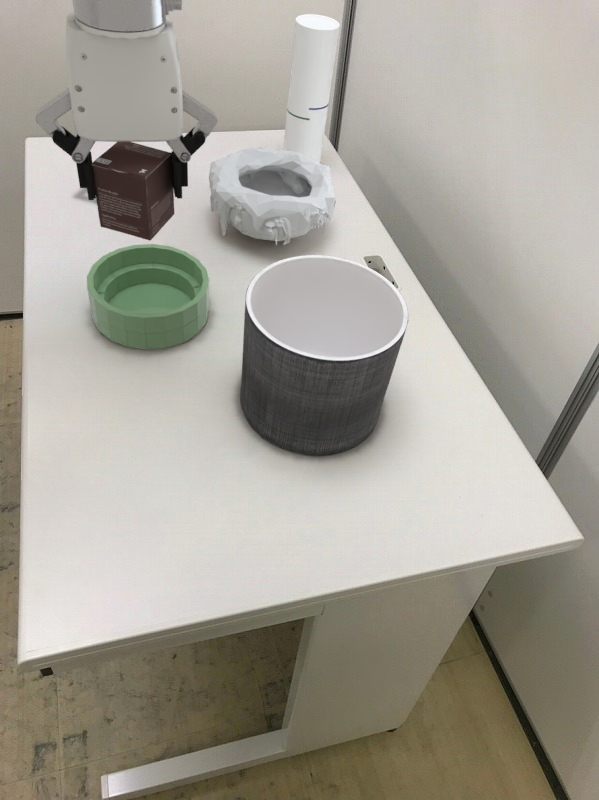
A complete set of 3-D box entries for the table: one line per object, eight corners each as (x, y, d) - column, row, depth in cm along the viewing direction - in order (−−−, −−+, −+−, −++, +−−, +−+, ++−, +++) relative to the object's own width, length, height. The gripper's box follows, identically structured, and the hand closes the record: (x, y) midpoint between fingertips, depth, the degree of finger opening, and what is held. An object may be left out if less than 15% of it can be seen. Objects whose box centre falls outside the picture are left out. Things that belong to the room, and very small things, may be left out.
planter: (230, 446, 75) (234, 348, 63) (249, 344, 87) (255, 245, 75) (380, 465, 75) (412, 371, 64) (378, 360, 87) (405, 265, 76)
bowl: (238, 182, 115) (240, 127, 108) (345, 213, 112) (355, 159, 104) (185, 240, 101) (183, 181, 94) (305, 278, 98) (314, 221, 91)
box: (176, 215, 71) (174, 152, 66) (150, 243, 67) (146, 178, 62) (126, 201, 72) (120, 137, 66) (98, 227, 68) (89, 162, 62)
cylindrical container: (323, 176, 120) (345, 30, 101) (286, 178, 118) (302, 29, 100) (313, 157, 124) (332, 14, 106) (277, 158, 122) (290, 13, 104)
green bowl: (94, 357, 82) (88, 321, 78) (91, 282, 92) (85, 246, 88) (216, 347, 86) (216, 312, 81) (200, 275, 96) (199, 241, 91)
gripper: (216, -5, 58) (213, 173, 71) (11, -16, 54) (48, 175, 67) (228, 25, 54) (223, 210, 66) (5, 15, 50) (45, 214, 62)
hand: (135, 191), depth 67 cm, fingers closed on box, 8 cm apart
